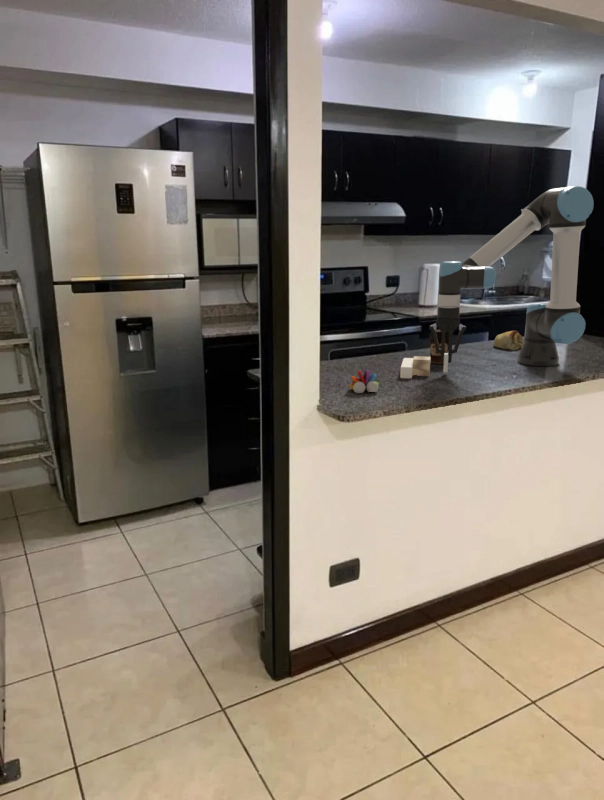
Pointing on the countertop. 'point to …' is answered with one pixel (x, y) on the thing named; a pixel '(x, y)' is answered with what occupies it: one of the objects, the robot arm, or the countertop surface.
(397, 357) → the countertop surface
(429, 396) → the countertop surface
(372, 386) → the rainbow fan toy
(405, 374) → the white rectangular bar
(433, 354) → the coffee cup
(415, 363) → the block
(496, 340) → the pastry
